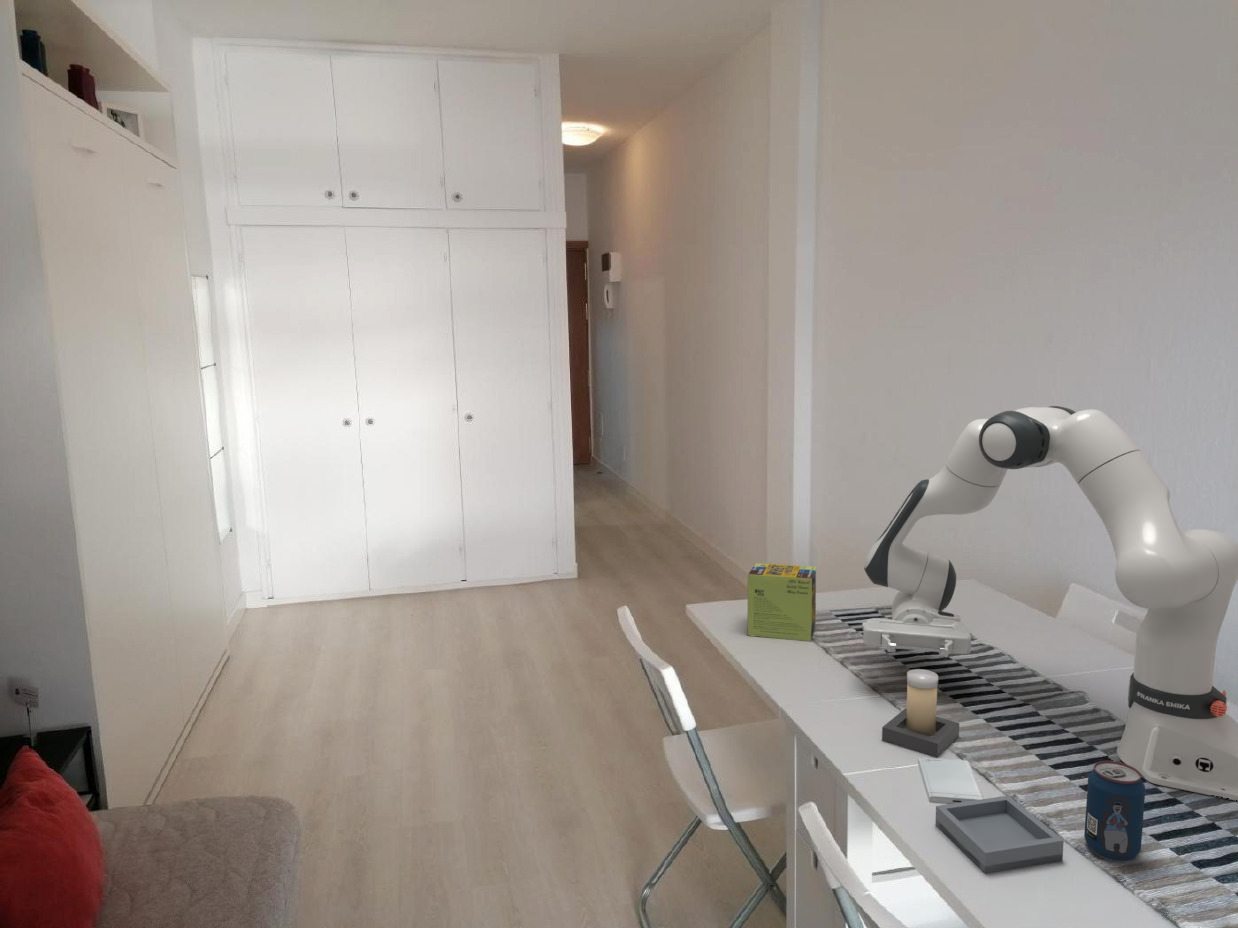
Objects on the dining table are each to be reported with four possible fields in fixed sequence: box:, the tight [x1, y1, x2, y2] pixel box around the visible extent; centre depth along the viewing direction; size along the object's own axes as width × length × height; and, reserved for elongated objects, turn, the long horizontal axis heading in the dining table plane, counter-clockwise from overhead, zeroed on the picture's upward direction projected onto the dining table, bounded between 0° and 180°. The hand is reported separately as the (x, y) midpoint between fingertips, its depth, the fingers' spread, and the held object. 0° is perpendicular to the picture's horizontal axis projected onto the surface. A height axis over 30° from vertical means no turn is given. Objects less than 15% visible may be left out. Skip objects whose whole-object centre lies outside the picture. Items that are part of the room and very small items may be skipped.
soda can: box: [1083, 760, 1146, 863], centre depth 122 cm, size 7×7×12 cm
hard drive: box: [917, 757, 985, 804], centre depth 141 cm, size 2×8×12 cm
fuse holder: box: [881, 707, 960, 758], centre depth 157 cm, size 10×10×2 cm
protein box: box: [746, 562, 817, 642], centre depth 211 cm, size 10×15×16 cm
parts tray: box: [934, 795, 1064, 874], centre depth 125 cm, size 12×12×3 cm
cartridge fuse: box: [906, 668, 939, 737], centre depth 156 cm, size 5×5×12 cm
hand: (917, 650), depth 167 cm, fingers open, 8 cm apart
